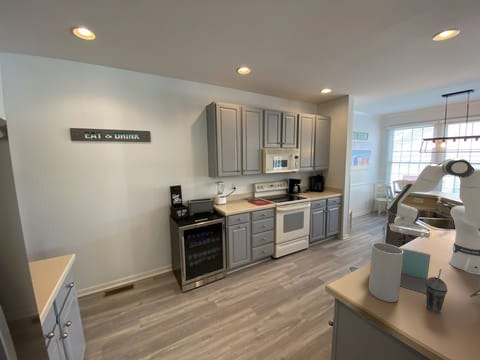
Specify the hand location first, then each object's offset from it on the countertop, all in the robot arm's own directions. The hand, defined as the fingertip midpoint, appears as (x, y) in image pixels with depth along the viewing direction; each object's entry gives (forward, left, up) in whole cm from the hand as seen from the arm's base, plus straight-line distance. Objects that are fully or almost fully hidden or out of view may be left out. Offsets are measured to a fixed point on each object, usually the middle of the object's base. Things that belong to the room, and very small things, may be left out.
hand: (412, 234), depth 125 cm
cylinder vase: (+16, +42, -22) cm, 50 cm away
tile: (+1, +11, -22) cm, 24 cm away
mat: (+1, +21, -22) cm, 30 cm away
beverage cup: (-3, +42, -22) cm, 47 cm away
